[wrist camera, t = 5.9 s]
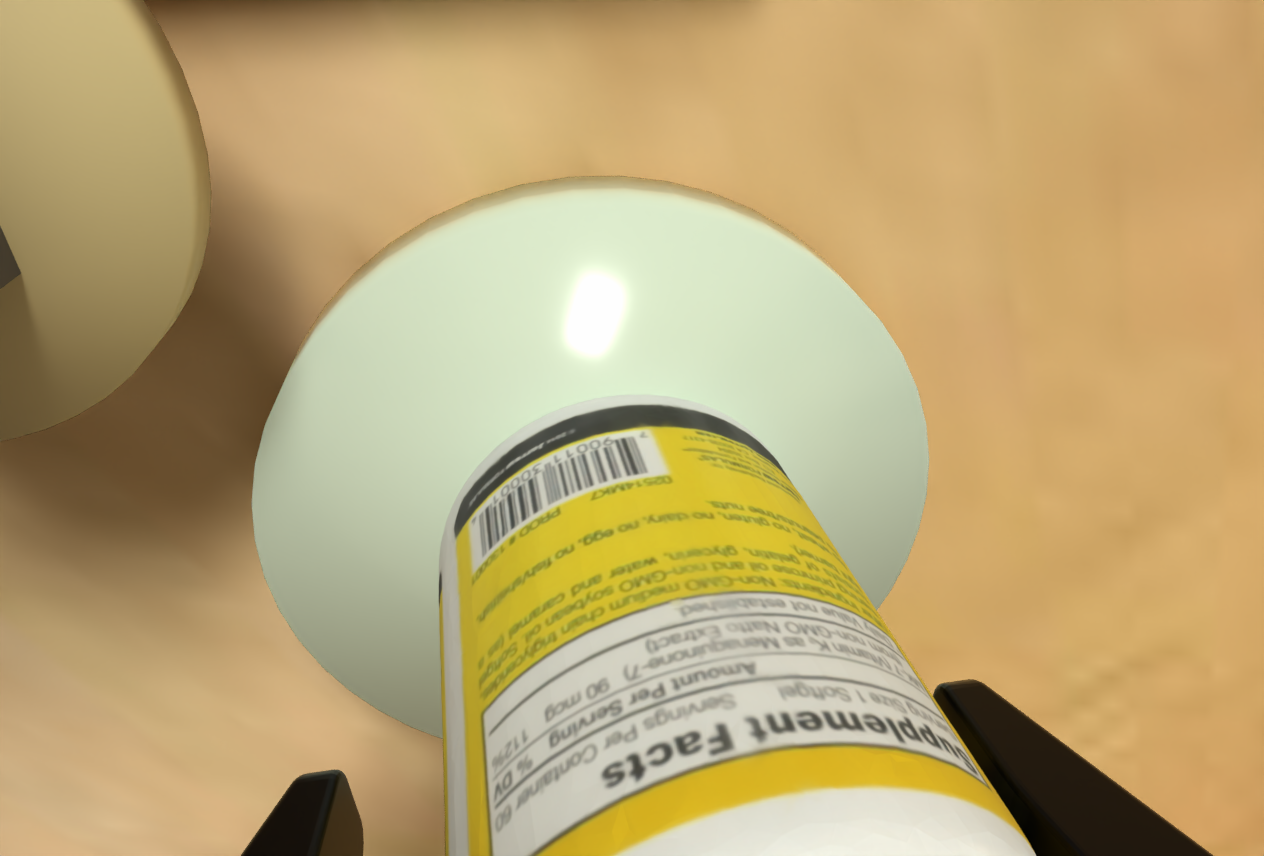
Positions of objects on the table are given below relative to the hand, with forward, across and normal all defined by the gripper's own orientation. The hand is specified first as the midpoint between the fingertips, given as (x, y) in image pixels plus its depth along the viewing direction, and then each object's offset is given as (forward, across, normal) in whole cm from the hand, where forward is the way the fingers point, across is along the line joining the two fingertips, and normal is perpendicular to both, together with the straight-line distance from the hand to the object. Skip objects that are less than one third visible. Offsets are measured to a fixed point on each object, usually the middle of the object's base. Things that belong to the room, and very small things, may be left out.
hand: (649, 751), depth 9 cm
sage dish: (+5, 0, 0) cm, 5 cm away
